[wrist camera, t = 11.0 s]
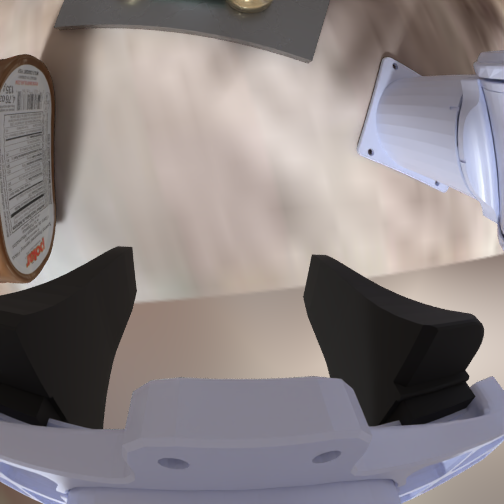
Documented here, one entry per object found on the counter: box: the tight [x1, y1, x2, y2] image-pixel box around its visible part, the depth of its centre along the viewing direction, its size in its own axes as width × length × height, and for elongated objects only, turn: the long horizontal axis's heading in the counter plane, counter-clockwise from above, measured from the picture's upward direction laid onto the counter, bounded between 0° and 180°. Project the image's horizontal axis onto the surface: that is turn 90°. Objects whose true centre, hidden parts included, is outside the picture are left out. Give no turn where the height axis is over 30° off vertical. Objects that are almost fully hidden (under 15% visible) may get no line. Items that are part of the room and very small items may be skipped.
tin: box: [0, 54, 56, 283], centre depth 13 cm, size 15×3×8 cm, turn 173°
